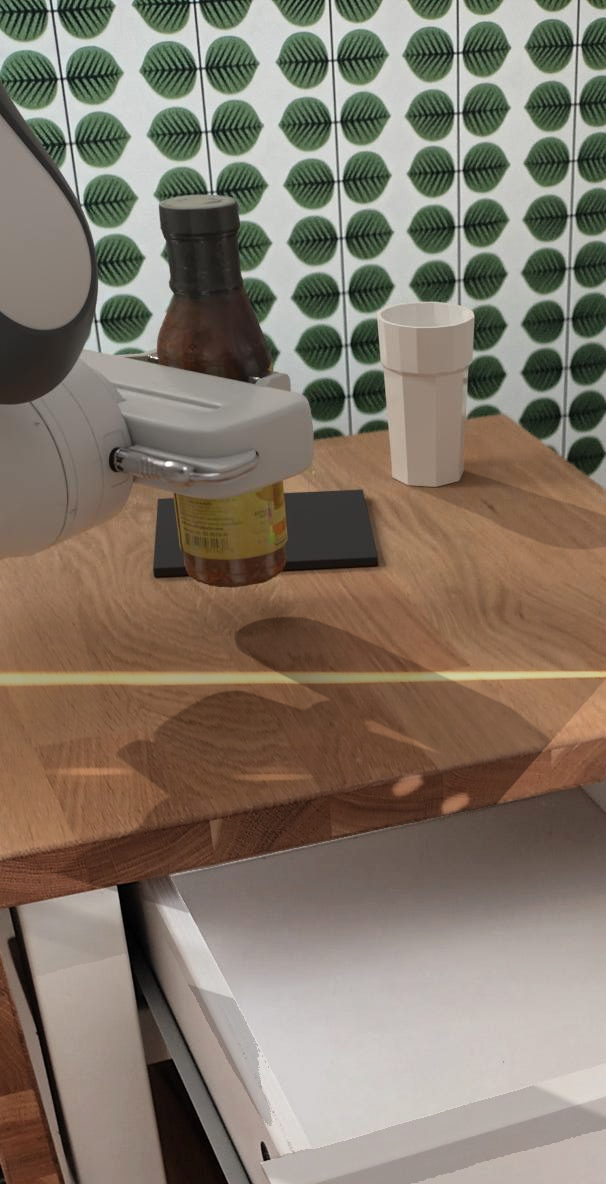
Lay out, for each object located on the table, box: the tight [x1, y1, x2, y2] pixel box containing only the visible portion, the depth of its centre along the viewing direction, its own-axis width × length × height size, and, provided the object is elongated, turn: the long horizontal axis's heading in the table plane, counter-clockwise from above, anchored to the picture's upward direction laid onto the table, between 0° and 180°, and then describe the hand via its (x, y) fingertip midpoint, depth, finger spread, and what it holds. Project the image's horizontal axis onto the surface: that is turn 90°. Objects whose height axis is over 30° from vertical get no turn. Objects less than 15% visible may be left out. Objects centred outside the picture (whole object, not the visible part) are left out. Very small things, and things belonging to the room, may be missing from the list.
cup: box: [376, 301, 476, 488], centre depth 109 cm, size 7×7×11 cm
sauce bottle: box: [156, 194, 288, 588], centre depth 85 cm, size 6×6×20 cm
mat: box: [152, 489, 379, 578], centre depth 102 cm, size 14×12×1 cm
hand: (225, 375), depth 85 cm, fingers closed on sauce bottle, 6 cm apart
